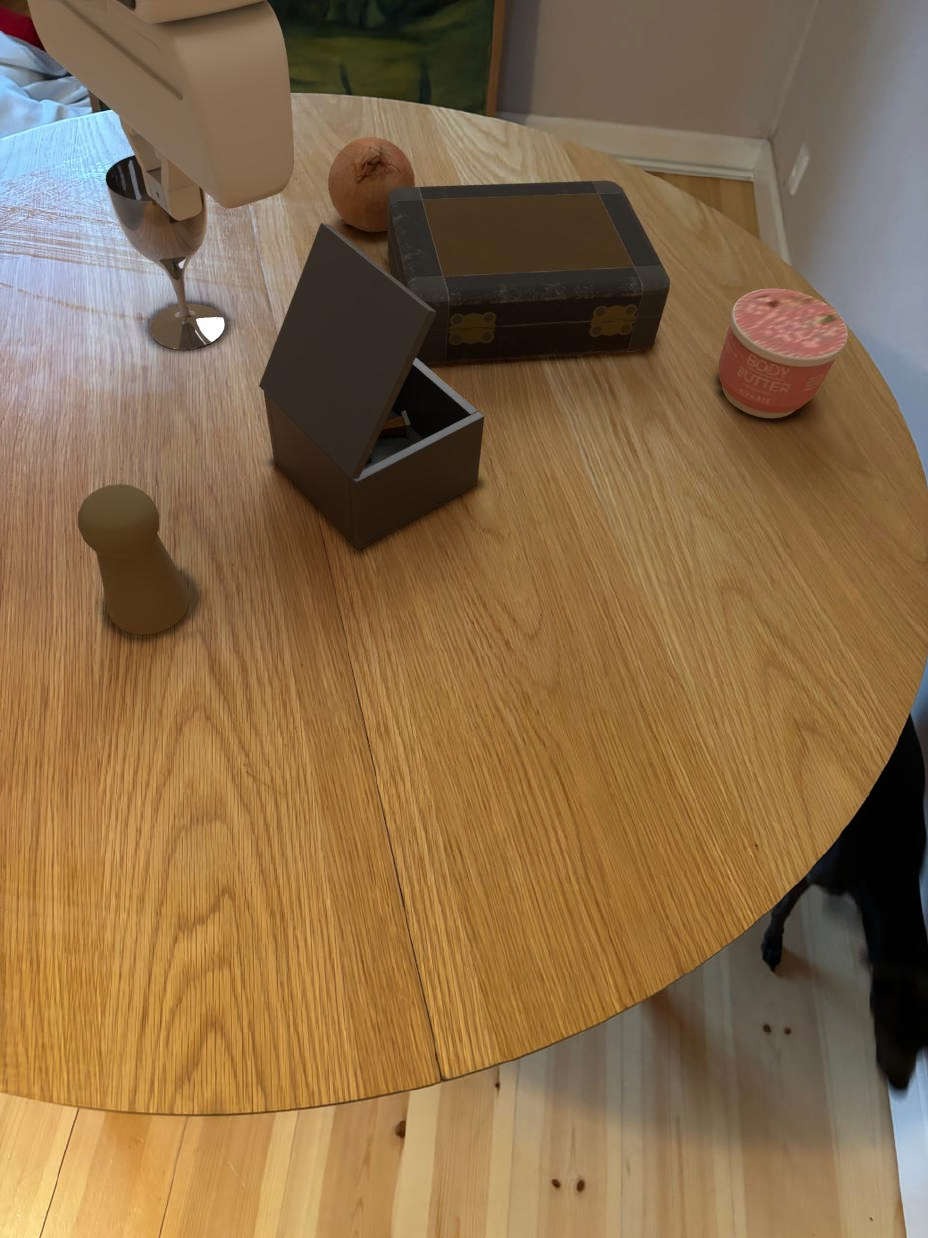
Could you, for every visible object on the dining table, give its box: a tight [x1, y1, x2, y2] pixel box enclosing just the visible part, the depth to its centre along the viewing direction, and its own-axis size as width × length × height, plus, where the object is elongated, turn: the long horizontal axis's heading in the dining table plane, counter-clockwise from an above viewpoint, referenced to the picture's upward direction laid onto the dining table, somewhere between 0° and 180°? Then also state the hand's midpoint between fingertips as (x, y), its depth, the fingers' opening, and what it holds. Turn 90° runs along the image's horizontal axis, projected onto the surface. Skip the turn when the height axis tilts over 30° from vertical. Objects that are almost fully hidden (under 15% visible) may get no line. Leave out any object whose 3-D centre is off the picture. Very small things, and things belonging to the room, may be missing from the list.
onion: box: [327, 136, 416, 233], centre depth 97 cm, size 10×9×10 cm
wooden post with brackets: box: [370, 411, 411, 456], centre depth 77 cm, size 2×8×4 cm
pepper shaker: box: [77, 483, 191, 636], centre depth 63 cm, size 6×6×11 cm
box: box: [263, 358, 485, 551], centre depth 74 cm, size 13×13×8 cm
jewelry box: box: [387, 180, 671, 365], centre depth 90 cm, size 25×20×8 cm
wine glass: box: [105, 154, 226, 351], centre depth 81 cm, size 8×8×15 cm
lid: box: [258, 222, 437, 479], centre depth 65 cm, size 13×13×1 cm
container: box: [718, 288, 849, 419], centre depth 84 cm, size 10×10×8 cm
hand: (175, 206), depth 49 cm, fingers closed
